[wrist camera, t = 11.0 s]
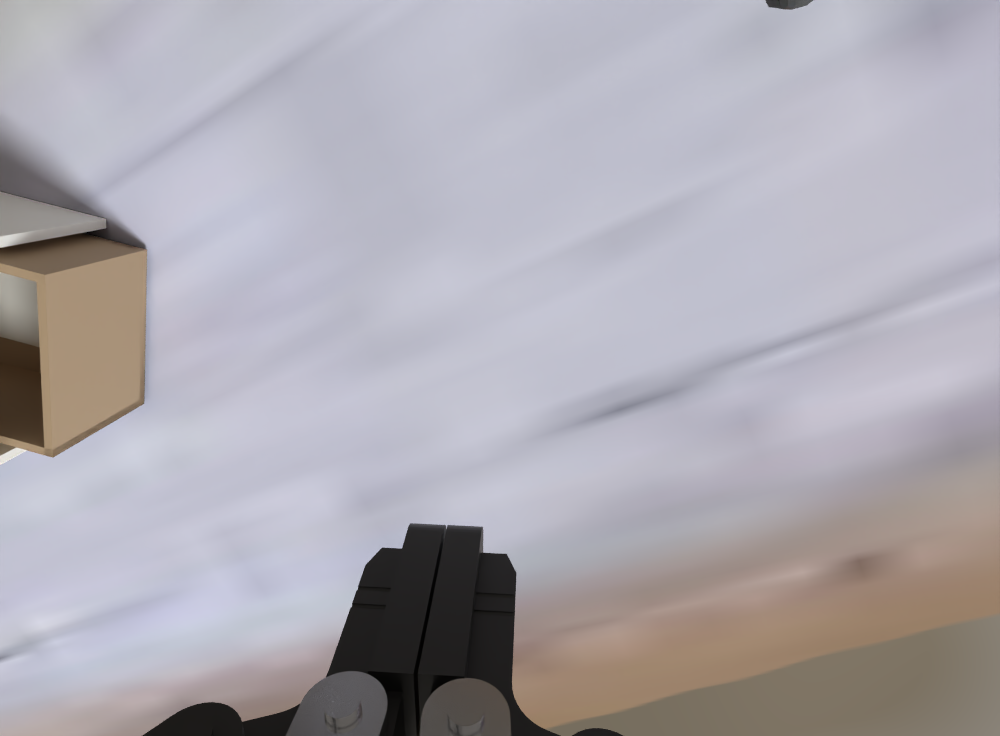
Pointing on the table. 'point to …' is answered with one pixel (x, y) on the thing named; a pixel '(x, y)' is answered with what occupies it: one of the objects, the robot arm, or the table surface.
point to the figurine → (787, 3)
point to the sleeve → (37, 239)
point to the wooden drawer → (69, 339)
